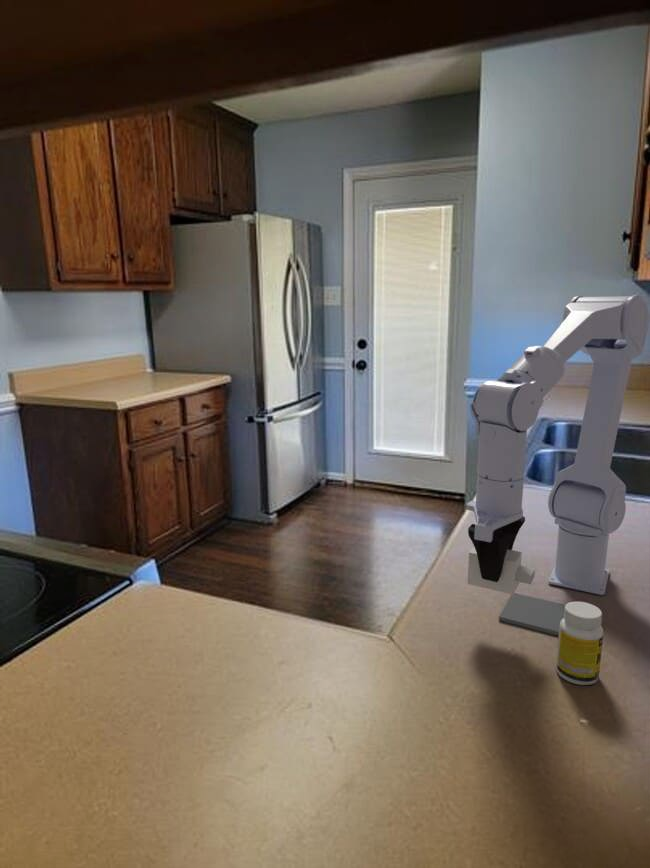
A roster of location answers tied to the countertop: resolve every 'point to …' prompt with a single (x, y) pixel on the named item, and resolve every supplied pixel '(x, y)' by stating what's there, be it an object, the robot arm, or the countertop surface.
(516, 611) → the coaster
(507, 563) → the block
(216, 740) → the countertop surface
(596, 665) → the supplement bottle
